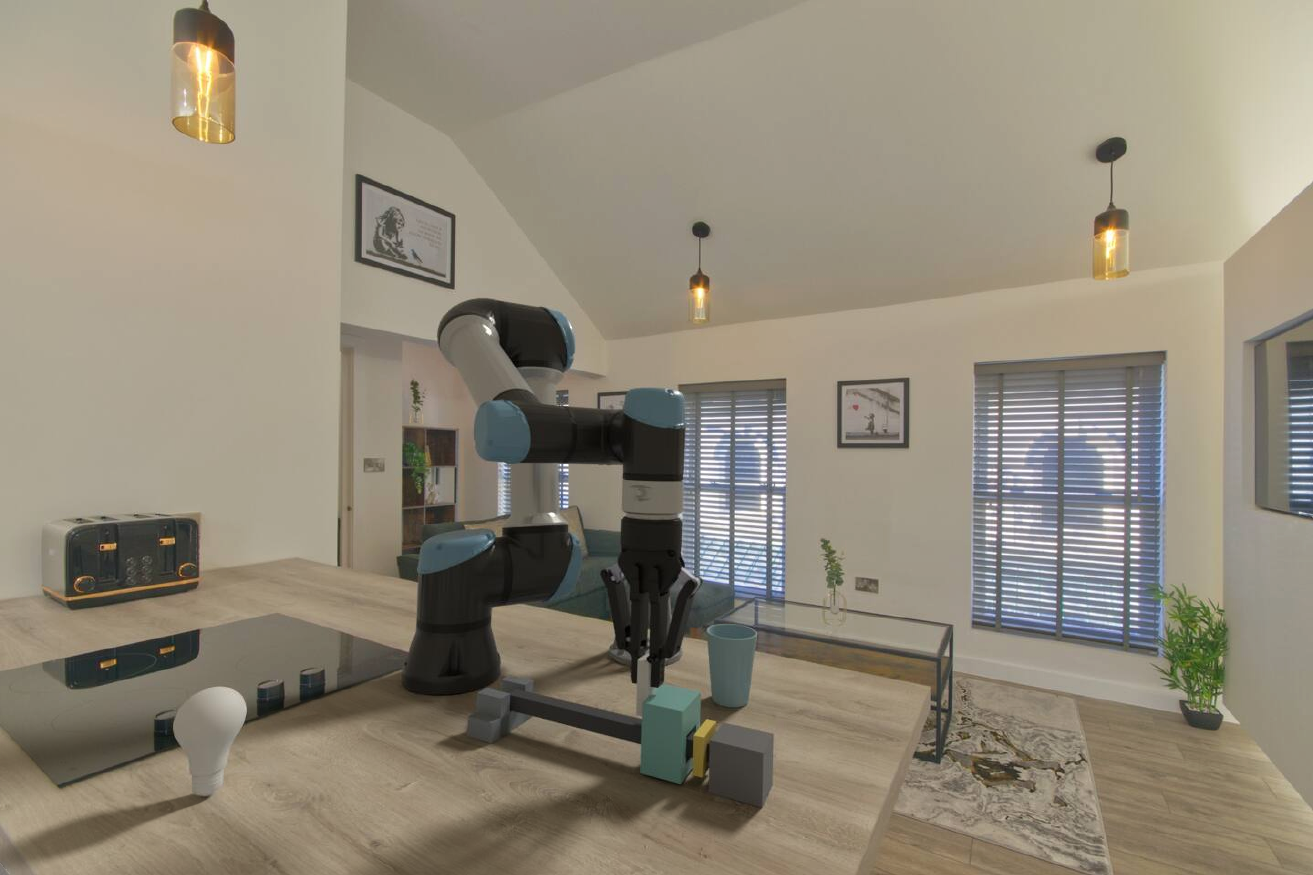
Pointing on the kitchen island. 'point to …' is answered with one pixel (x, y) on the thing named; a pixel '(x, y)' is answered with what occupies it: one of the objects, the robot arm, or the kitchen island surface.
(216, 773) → the lightbulb
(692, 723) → the sleeve
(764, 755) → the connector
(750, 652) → the cup
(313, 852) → the kitchen island surface
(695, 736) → the dark grey long bar
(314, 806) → the kitchen island surface
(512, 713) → the grey stepped brick
